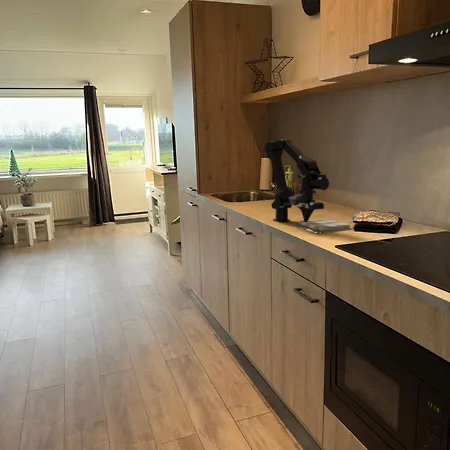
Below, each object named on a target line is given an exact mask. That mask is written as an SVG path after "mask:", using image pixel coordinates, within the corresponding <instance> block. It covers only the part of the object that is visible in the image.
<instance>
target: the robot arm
mask: <svg viewBox="0 0 450 450" xmlns="http://www.w3.org/2000/svg"><path fill="white" fill-rule="evenodd" d="M264 150H265V154H266V156H267V158H268V159H269V160H270V163H271V167H272V171H273V175H274V182H275V186H276V190H275V194H274V196H275V197H274V200H273V202H272V203H271V204H270V205H271V209H274V210H275V218H273V219H272V220H273V221H275V222H279V223H281V222H290V221H291V219H289V209H292V206H296V207H297V209H298V210H300V212H301V215H302V219H303V221H304V222H308V220H310V218H311V216H312V215H313V213H314V211H316V210H324V209H325V204H324V202H321V201H316V199H314V195H315V194H316V193H317V190H320V191H326V190H328V188H329V185H330V181H329V178H328V177H327V174H325V173H324V174H322V172H321V170H320V168H319V166H318V162H317V160H315V159H313V158H311V157H310V156H307V155H305V154H304V153H303V152H302V151H301V150H300V149H299V148H298V147H296V145H294V144H293V142H292V141H291V140H290V139H289V138H287V139H286V138H285V139H283V138H282V139H279V140H276V141H275V140H274V141H272V140H271V141H267V142H266V143H265V145H264ZM284 152H285V153H286V154H287V155H288V156H289V157H291V159H292V160H293V161H294V162H295V163H296V168H297V169H298V170H299V172H300V173H299V174H298V175H297V178H301V179H300V180H301V181H300V189H299V190H298V192H297V194H296V193H295V194H294V193H293V191H294V190H293V189H292V188H289V187H288V185H287V179H286V175H285V170H284V166H283V160H282V156H283V154H284Z"/></svg>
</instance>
